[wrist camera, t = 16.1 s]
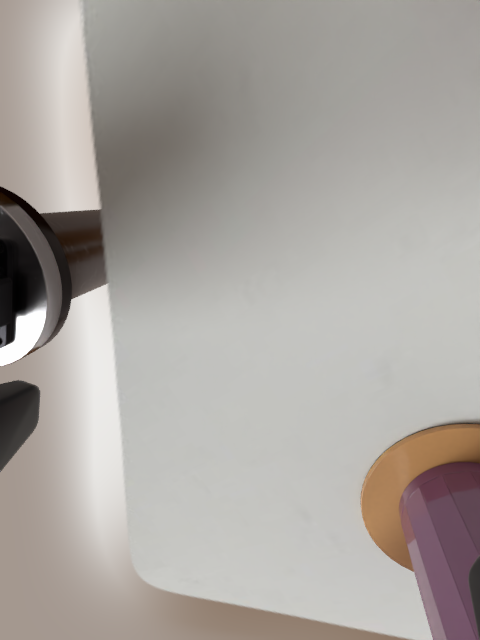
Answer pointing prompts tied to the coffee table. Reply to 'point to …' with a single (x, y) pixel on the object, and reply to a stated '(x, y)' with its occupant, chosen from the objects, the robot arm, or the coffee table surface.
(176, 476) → the coffee table surface
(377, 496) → the coaster
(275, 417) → the coffee table surface
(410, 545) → the tumbler
